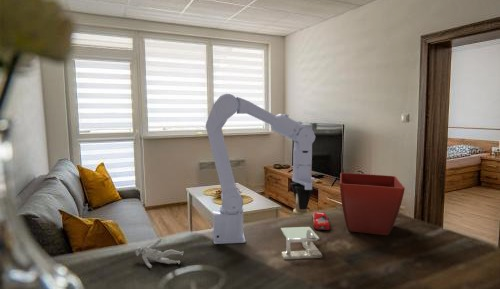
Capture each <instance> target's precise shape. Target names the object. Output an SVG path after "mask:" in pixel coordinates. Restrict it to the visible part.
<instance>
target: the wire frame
mask: <svg viewBox="0 0 500 289" xmlns="http://www.w3.org/2000/svg"><path fill="white" fill-rule="evenodd" d="M317 241H318V240H317V238H316V237H315V236H314V234H313V233H312V232H311V231H310V230H307V233H306V238H294V239H286V240H285V243H286V244H285V246H286V248H285V250H284V251H281V256H282V258H283V260H295V259H296V260H297V259H299V260H302V259H318V258H320V259H321V258H323V254H322V252H321V251H320V250H319V248H317V246H316V245H315V243H314V242H317ZM292 243H301V245H302V247H303V248H304V250H291V246H292Z"/></svg>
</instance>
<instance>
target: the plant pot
mask: <svg viewBox="0 0 500 289" xmlns="http://www.w3.org/2000/svg"><path fill="white" fill-rule="evenodd" d="M339 177H340V178H339V191H340V200H341V206H342V214H343V218H344V221H345V226H346V229H347V231H348V232H353V233H364V234H372V235H373V234H374V235H380V236H381V235H382V236H389V235H390V234H391V231H392V230H393V227H394V225H395V223H396V220H397V217H398V215H399V212H400V210H401V206H402V202H403V200H404V199H403V197H404V194H405V191H406V190H405V189H406V188H405V186H404V185H403V184H402V182H401V181H400V180H399V179H398V178H397V177H396V176H395V175H384V174H383V175H382V174H367V173H351V172H350V173H349V172H340V174H339Z"/></svg>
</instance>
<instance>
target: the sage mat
mask: <svg viewBox="0 0 500 289" xmlns="http://www.w3.org/2000/svg"><path fill="white" fill-rule="evenodd" d="M307 230H310V231H311V232H312V233H313V234H314V236H315V237H316V238H317V241H318V240H320V237H319V236H318V234H317V233H315V231H314V230H313V229H312V228H311V227H310V226H298V227H297V226H295V227H294V226H293V227H292V226H291V227H290V226H289V227H280V231H281V232H282V234H283V236H284V237H285V239H286V240H287V239H294V238H306V233H307Z"/></svg>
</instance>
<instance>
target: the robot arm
mask: <svg viewBox="0 0 500 289" xmlns="http://www.w3.org/2000/svg"><path fill="white" fill-rule="evenodd" d="M235 114H241V115H244V114H246V115H249V116H252V117H253V118H255V119H257V120H260V121H261V122H262V121H263V122H264V123H267V125H268V124H269V125H270V127H271V130H272V131H273V132H275V133H277V134H278V135H281V136H283V137H285V138H287V139H289V140H292V141H293V150H292V151H293V157H292V177H291V181H292V182H290V183H289V184H290V186H291V189H292V191H293V195H294V201H295V202H294V203H296V194H297V195H298V202H299V208H300V209H308V206H309V201H310V198H311V197H312V194H313V192H315V187H313V182H315V181H316V179H315V177H312V169H313V168H312V166H313V165H312V164H313V160H312V159H313V143H314V142H315V140H316V135H315V132H314V130H313V128H311V127H309V126H307V125H303V122H302V121H300V120H298V121H297V120H295V119H292V118H290V117H289V116H290V115H289V114H287V113H284V114H283V113H278V114H276V115H275V114H273V113H272V112H269V111H268V110H266V109H265V108H262V107H260V106H258V105H257V104H254V103H253V102H251V101H250V100H247V99H244V98H242V97H238V96H235V95H233V94H231V93H224V94H221V95H220V96H219V97H218V98H217V100H215V102H214V103H213V105H212V107H211V110H210V112H209V115H208V117H207V120H206V123H205V129H206V133H207V137H208V141H209V144H210V149H211V153H212V157H213V161H214V166H215V168H216V172H217V176H218V180H219V185H220V189H221V193H220V199H221V207H220V208H219V210H214V211H213V214H212V215H213V228H212V230H211V231H212V233H211V234H212V236H213V244H214V245H218V244H219V245H223V244H243V243H246V237H245V234H244V208H243V206H244V199H243V197H242V195H241V192H240V189H239V188H238V187H237V185H236V182H235V181H236V180H235V177H234V173H233V167H232V165H231V164H232V163H231V161H230V157H229V154H228V149H227V145H226V141H225V136H224V132H223V127H224V126H225V124H226V123H227V122H228V120H229V119H230V118H231V117H232V116H234V115H235Z"/></svg>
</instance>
